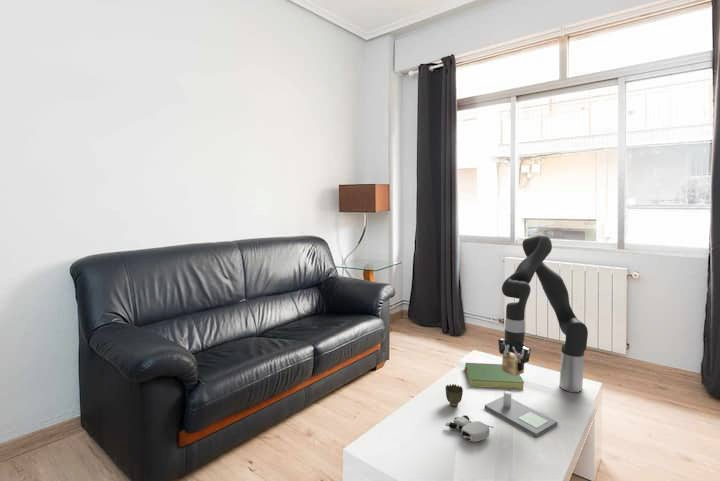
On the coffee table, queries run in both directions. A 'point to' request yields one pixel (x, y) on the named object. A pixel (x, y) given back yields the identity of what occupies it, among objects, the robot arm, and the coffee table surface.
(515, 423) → the post board
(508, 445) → the coffee table surface
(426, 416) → the coffee table surface
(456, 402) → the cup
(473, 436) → the robot toy
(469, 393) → the coffee table surface
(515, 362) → the cardboard box
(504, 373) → the hardcover book
